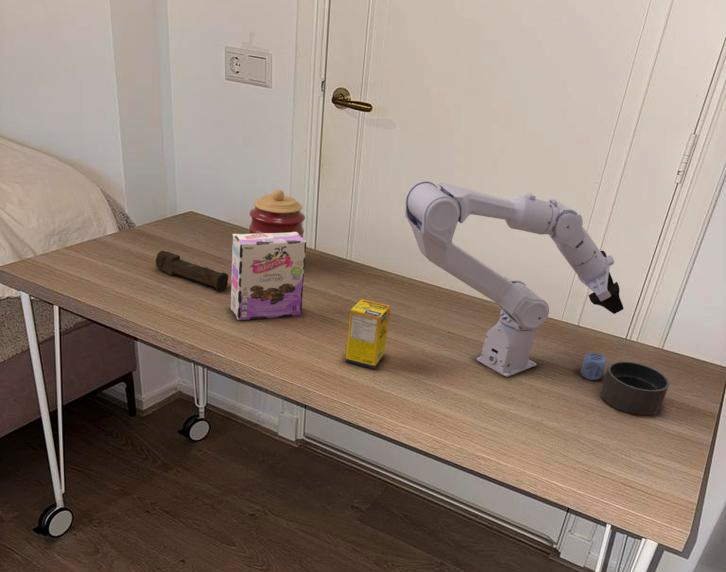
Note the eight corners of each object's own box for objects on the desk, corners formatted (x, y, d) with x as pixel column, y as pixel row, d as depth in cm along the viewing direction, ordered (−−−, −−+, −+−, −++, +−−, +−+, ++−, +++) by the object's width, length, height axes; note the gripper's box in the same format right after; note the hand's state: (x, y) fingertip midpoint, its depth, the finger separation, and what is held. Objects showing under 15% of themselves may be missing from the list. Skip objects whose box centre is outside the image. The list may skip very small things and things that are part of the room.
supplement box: (384, 357, 138) (391, 305, 132) (374, 370, 133) (381, 316, 127) (355, 349, 139) (361, 297, 133) (344, 362, 134) (350, 309, 129)
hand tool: (229, 288, 157) (230, 268, 155) (217, 293, 154) (218, 273, 152) (165, 265, 165) (164, 246, 162) (152, 269, 162) (151, 250, 159)
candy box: (237, 321, 144) (239, 243, 135) (229, 309, 148) (231, 232, 140) (302, 316, 150) (307, 240, 141) (292, 304, 154) (297, 230, 145)
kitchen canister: (299, 275, 168) (304, 200, 159) (244, 269, 168) (246, 194, 159) (303, 256, 180) (308, 185, 170) (252, 250, 179) (254, 179, 170)
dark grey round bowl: (639, 423, 127) (649, 397, 124) (588, 395, 134) (596, 370, 131) (670, 406, 134) (680, 381, 131) (619, 381, 140) (628, 356, 137)
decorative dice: (579, 376, 140) (584, 358, 138) (581, 368, 143) (587, 350, 141) (599, 382, 139) (605, 364, 137) (601, 373, 142) (607, 356, 140)
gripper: (611, 266, 126) (642, 311, 134) (592, 220, 136) (623, 265, 144) (575, 286, 130) (607, 329, 137) (559, 240, 139) (590, 282, 147)
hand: (613, 297), depth 141 cm, fingers open, 7 cm apart
